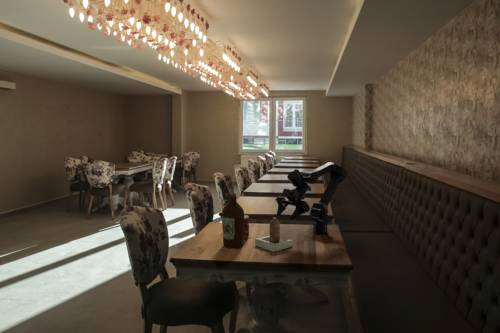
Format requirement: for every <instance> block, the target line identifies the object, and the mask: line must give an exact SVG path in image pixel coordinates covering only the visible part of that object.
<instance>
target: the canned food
mask: <svg viewBox="0 0 500 333" xmlns="http://www.w3.org/2000/svg"><path fill="white" fill-rule="evenodd" d="M249 237H250V216H249V215H247V214H244V232H243V240H246V239H249Z"/></svg>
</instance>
